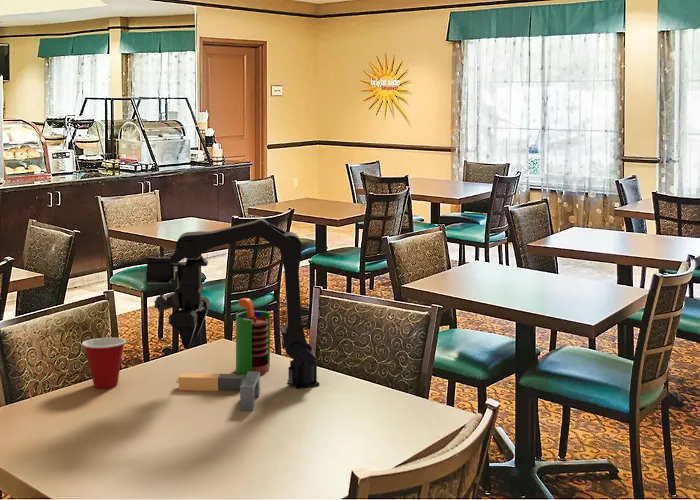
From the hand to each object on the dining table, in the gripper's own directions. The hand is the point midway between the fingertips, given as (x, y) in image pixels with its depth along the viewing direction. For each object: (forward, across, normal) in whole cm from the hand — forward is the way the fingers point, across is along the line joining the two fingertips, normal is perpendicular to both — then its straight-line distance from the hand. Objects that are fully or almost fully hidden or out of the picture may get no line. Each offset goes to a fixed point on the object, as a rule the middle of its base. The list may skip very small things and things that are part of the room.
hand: (190, 343), depth 200 cm
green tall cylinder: (+12, -15, +13) cm, 23 cm away
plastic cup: (+12, -1, -22) cm, 26 cm away
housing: (+12, +9, +17) cm, 22 cm away
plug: (+12, 0, +5) cm, 13 cm away
